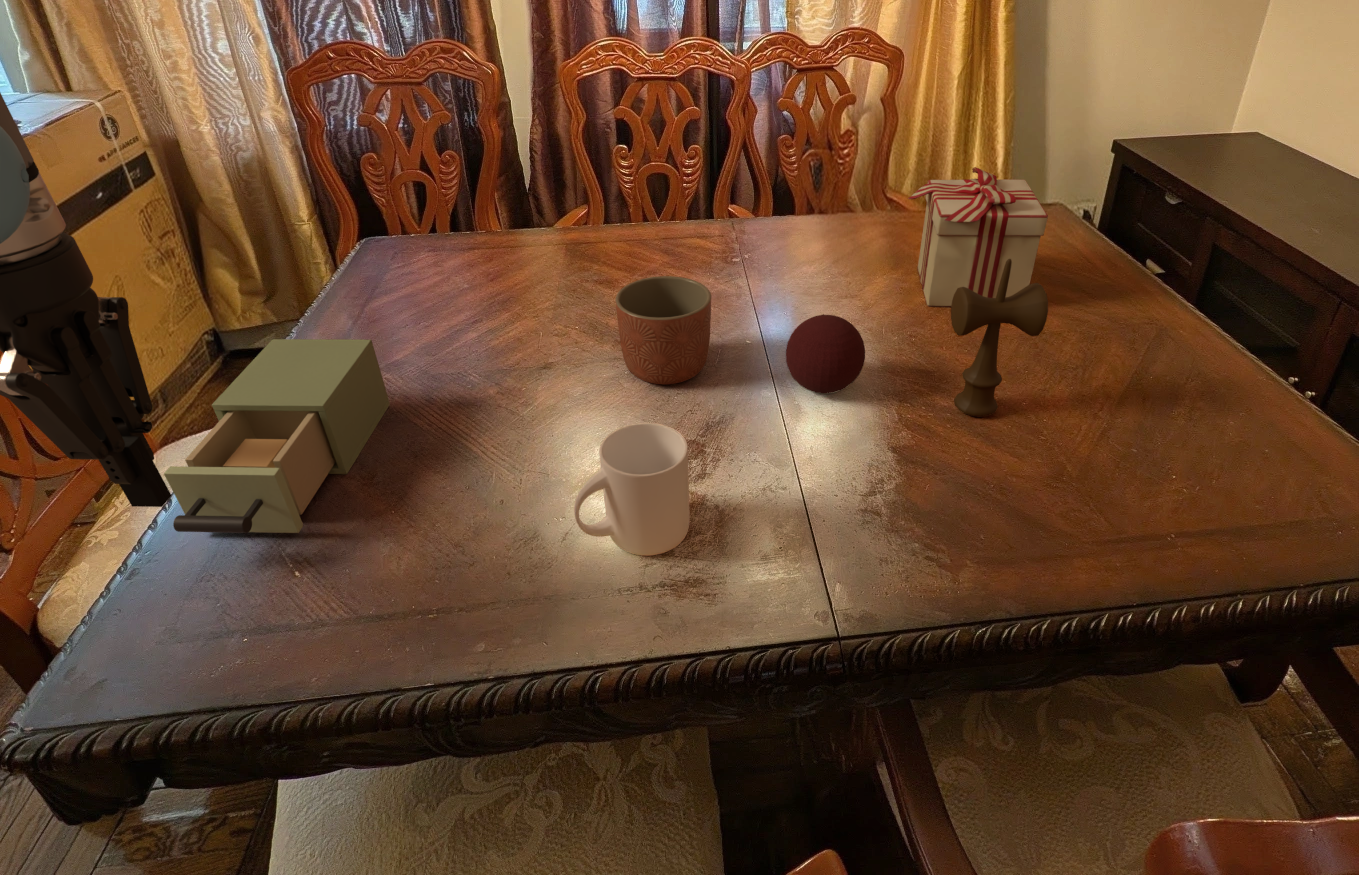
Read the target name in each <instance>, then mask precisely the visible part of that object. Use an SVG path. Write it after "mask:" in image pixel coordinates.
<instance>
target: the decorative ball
mask: <svg viewBox="0 0 1359 875" xmlns="http://www.w3.org/2000/svg"><path fill="white" fill-rule="evenodd" d="M865 360H866V347H865V342H864V339H863V337H862V335H861V333H860V331H859V329H857V328H856V327H855V325H853V324H852V323H851V322H850V321H848V320H847V319H845V318H844V317H840V316H839V315H838V316H836V315H833V314H820V315H818V314H817V315H814V316H811V317H809V318H807V319H805V320H804V321H802V322H801V323H799V325H798V326H796V327H795V329H794V330H793V331H792V332H791V334H790V336H789V339H788V341H787V343H786V348H785V363H786V366H787V369H788V372H789V373H790V375H791V377H792V378H793V380H795V382H796V383H797V384H798V385H800V386H801V387H802V388H803V389H806V390H807V391H810V392H812V393H815V394H825V395H826V394H834V393H837V392H839V391H840V392H841V391H842V390H845V389H846V388H847V387H849V386H850V385H851V384H854V382H855V381H856V379H857V378H858V377H859V376H860V374H861V372H862V370H863V368H864V364H865Z"/></svg>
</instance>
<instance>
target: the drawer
mask: <svg viewBox="0 0 1359 875" xmlns="http://www.w3.org/2000/svg"><path fill="white" fill-rule="evenodd" d="M245 439H287V440H288V441H287V442H286V444H285V445H284V446H283V448H282V449H281V450H280V452H279V453H278V454H277V456H276V457H275V458H274V460H273V463H274V465H275V468H254V467H223V465H224V464H225V463H226V461H227V460H228V459H229V458H230V457H231V455H232V454H233V453H234V452H235V451H236V449H237V448H238V447H239V446H240V445H241V443H242V442H243V441H244V440H245ZM184 461H185V463H186V465H187V466H178V465H177V466H172V465H170V466H169V467H168V468H167V469H166V470H165V471H164V473H163V476H164V478H165V479H166V481H167V484H168V485H169V486H170V489H171V491H172V493H173V495H174V496H175V498H176V500H177V503H178V504H179V506H180V509H181V510H182V512H183V514H182V515H181V514H180V515H177V516H176V517H174V519H173V529H174V531H176V532H177V533H222V534H223V533H227V534H228V533H230V534H232V533H233V534H247V533H271V534H272V533H275V534H278V533H279V534H280V533H281V534H299V533H300V531H301V530H302V529H303V527H304V523H303V520H302V519H301V516H302V515H303V514H304V512H305V510H306V509H307V507H309V506H308V505H309V504H310V503H311V501H312V500H313V498H314V497H315V495H316V493H317V492H318V490H319V488H320V487H321V486H322V484H323V483H324V481H325V479H326V478H327V477H328V475H329V474H328V473H329V471H330V470H331V468H332V467H333V465H334V464H335V462H336V460H335V457H334V454H333V451H332V448H331V445H330V443H329V440H328V437H327V434H326V431H325V429H324V426H323V423H322V420H321V417H320V414H319V411H228V412H227V413H226V414H225V415H224V417H223V418H222V419H221V420H220V421H219V420H218V422H217V423H216V424H215V425H214V426H213V428H212V429H211V430H210V431H209V432H208V433H207V434H206V436H204V438H203V439H201V441H200V442H199V443H198V445H197V446H195V448H194V449H193V450H192V451H191V452H190V453H189V454H188V456H187V457H186V458H185V460H184Z"/></svg>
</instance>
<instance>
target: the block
mask: <svg viewBox="0 0 1359 875" xmlns="http://www.w3.org/2000/svg"><path fill="white" fill-rule="evenodd" d="M287 441H288V440H287V439H245V440H244V441H243V442H242V443H241V445H240V446H239V447H238V448H237V449H236V451H235V452H234V453H233V454H232V455H231V457H230V458H229V459H228V460H227V461H226V463H225V464H224V465H223V467H254V468H275V465H274V463H273V460H274V458H275V457H276V456H277V454H278V453H279V452H280V450H281V449H282V448H283V446H284V445H285V444H286V442H287Z"/></svg>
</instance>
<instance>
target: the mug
mask: <svg viewBox="0 0 1359 875" xmlns="http://www.w3.org/2000/svg"><path fill="white" fill-rule="evenodd" d="M598 454H599V456H598V457H599V462H600V463H599V464H600V468H599V469H598V470H597V471H596V472H594V473H593V474H592V475H591V476H590V477H588V478H587V480H586V481H585V482H584V483H583V484H582V486H581V487H580V489H579V491H578V492H577V495H576V497H575V500H574V505H573V513H574V514H573V515H574V518H575V522H576V524H577V526H578V528H579V529H580V530H581V531H582V532H583V533H585V534H586V535H588V536H591V537H596V538H597V537H599V538H600V537H601V538H602V537H610V539H611V541H612V542H613V543H614V544H615V545H616V546H617V547H618V548H620V549H621V550H623V551H625V552H627V553H629V554H632V555H635V556H636V555H637V556H657V555H661V554H665V553H667V552H670V551H671V550H673V549H675V548H676V547H678V546H679V545H680V544H681V543H682V542H683V541H684V539H685V538H686V536H687V534H688V532H689V529H690V523H691V522H690V519H691V518H690V484H689V483H690V480H689V477H690V476H689V446H688V441H687V439H686V438H685V437H684V436H683V434H682V433H681V432H679V431H678V430H677V429H675V428H673V427H671V426H669V425H666V424H661V423H657V422H638V423H631V424H627V425H624V426H621V427H619V428H617V429H615V430H613V431H611V432H610V433H609V434H607V435H606V436H605V437H604V439H603V440H602V442H601V443H600V445H599V449H598ZM601 490H602V491H603V492H602V493H603V502H604V511H605V516H604V517H603V518H601V520H599V521H598V522H595V523H593V524H586V523H584V522H583V521H582V519H581V518H580V510H581V506H582V505H583V503H584V502H585V500H586V499H587V498H589V497H590V496H591V495H593V494H594V493H596V492H598V491H601Z"/></svg>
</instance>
